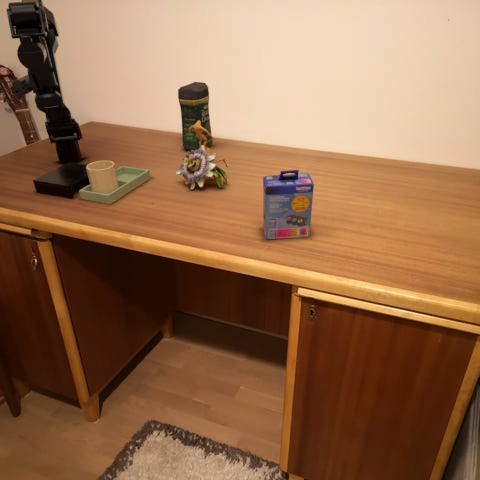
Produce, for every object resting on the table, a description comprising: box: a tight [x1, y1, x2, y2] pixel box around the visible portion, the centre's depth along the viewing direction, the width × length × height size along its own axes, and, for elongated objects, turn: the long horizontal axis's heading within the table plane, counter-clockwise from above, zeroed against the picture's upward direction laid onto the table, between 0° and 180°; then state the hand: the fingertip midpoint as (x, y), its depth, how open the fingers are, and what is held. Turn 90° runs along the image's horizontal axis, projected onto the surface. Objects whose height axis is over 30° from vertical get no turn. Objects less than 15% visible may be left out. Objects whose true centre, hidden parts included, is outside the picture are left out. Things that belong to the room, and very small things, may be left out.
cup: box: [86, 159, 119, 194], centre depth 118 cm, size 7×7×7 cm
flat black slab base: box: [32, 162, 89, 200], centre depth 125 cm, size 14×12×4 cm
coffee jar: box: [177, 81, 213, 152], centre depth 142 cm, size 10×8×19 cm
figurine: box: [189, 120, 215, 156], centre depth 133 cm, size 8×6×12 cm
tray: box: [78, 165, 152, 205], centre depth 123 cm, size 18×9×2 cm, turn 155°
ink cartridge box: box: [262, 169, 315, 241], centre depth 96 cm, size 10×6×14 cm, turn 95°
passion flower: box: [175, 145, 229, 191], centre depth 121 cm, size 11×11×12 cm
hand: (56, 128), depth 124 cm, fingers open, 9 cm apart
